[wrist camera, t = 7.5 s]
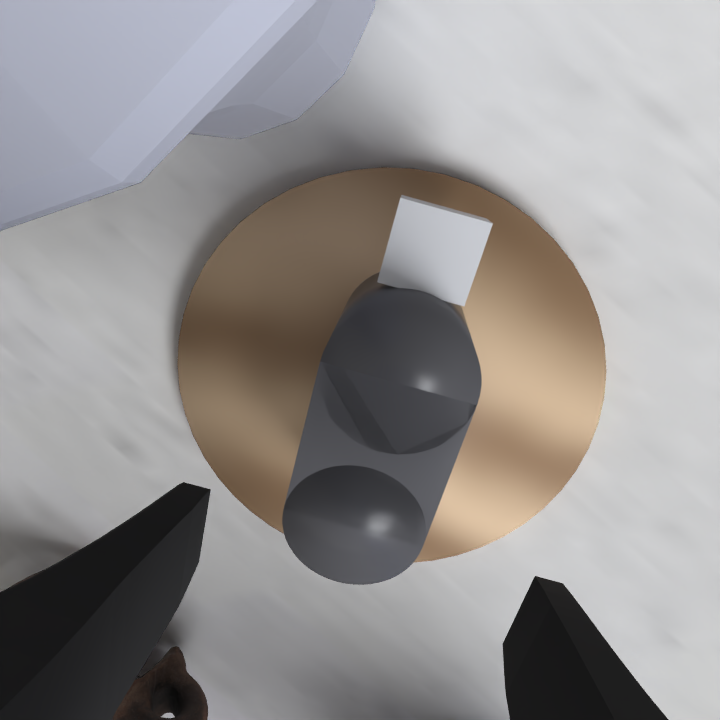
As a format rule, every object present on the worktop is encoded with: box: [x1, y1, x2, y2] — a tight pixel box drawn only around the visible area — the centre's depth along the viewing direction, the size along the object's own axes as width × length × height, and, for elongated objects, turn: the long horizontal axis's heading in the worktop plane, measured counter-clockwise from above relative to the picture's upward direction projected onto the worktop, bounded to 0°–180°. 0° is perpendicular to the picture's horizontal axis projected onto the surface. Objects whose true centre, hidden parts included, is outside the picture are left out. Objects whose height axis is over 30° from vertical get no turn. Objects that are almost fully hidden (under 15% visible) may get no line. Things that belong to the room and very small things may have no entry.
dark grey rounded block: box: [282, 195, 493, 585], centre depth 17 cm, size 12×4×5 cm, turn 165°
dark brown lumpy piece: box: [11, 570, 208, 720], centre depth 24 cm, size 12×10×8 cm
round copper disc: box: [178, 167, 606, 562], centre depth 20 cm, size 16×16×1 cm
